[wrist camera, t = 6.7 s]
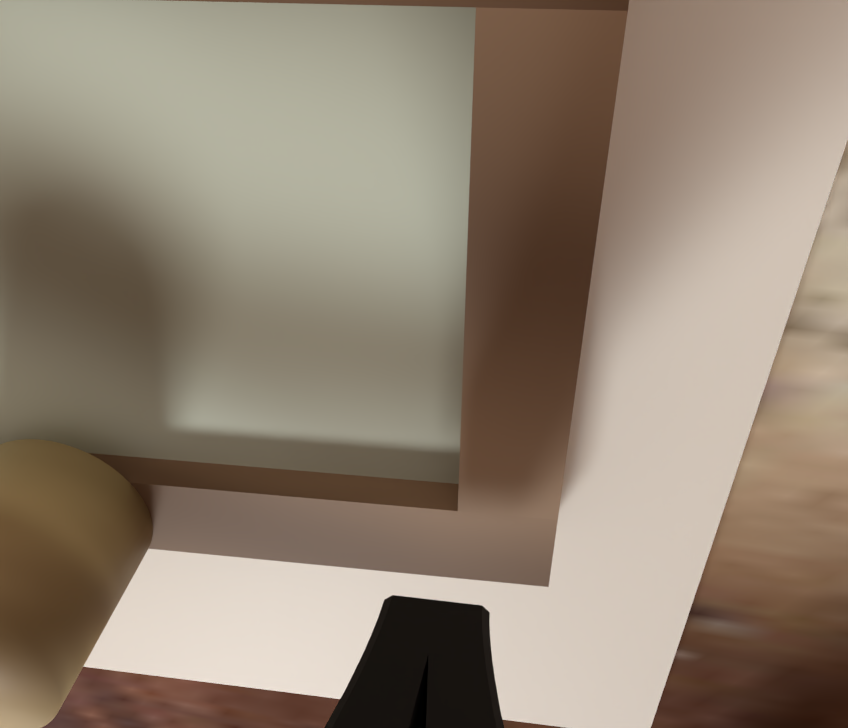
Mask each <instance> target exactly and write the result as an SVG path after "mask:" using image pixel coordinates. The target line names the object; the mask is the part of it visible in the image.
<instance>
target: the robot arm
mask: <svg viewBox="0 0 848 728" xmlns="http://www.w3.org/2000/svg"><path fill="white" fill-rule="evenodd" d="M489 618H490V612H489V611H488V610H487V609H485V608H484V607H483V606H482V605H474V604H465V603H457V602H448V601H439V600H431V599H422V598H414V597H405V596H396V595H392V596H390V597H388V598H387V599H385V600H384V602H383V605H382V608H381V611H380V614H379V617H378V619H377V622H376V624H375V627H374V629H373V632H372V634H371V637H370V639H369V641H368V644H367V646H366V648H365V650H364V652H363V655H362V657H361V659H360V661H359V663H358V665H357V667H356V669H355V671H354V673H353V675H352V677H351V679H350V681H349V683H348V685H347V687H346V689H345V691H344V693H343V695H342V697H341V699H340V701H339V702H338V704H337V706H336V708H335V710H334V712H333V713H332V715H331V717H330V719H329V721H328V722H327V724H326V726H325V728H504V725H503V720H502V716H501V711H500V705H499V700H498V694H497V688H496V682H495V676H494V669H493V662H492V653H491V642H490V624H489Z"/></svg>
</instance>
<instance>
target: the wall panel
mask: <svg viewBox="0 0 848 728" xmlns="http://www.w3.org/2000/svg"><path fill="white" fill-rule="evenodd" d="M847 140H848V0H629V6H628V13H627V21H626V28H625V35H624V43H623V50H622V57H621V64H620V72H619V79H618V86H617V93H616V101H615V108H614V115H613V122H612V130H611V137H610V144H609V151H608V159H607V166H606V173H605V181H604V188H603V195H602V202H601V210H600V217H599V224H598V231H597V239H596V246H595V253H594V260H593V268H592V275H591V282H590V289H589V297H588V304H587V311H586V318H585V326H584V333H583V340H582V348H581V355H580V362H579V369H578V377H577V384H576V391H575V398H574V406H573V413H572V420H571V427H570V435H569V442H568V449H567V456H566V464H565V471H564V478H563V486H562V493H561V500H560V507H559V515H558V522H557V529H556V536H555V544H554V551H553V558H552V565H551V573H550V580H549V587H543V586H533V585H523V584H512V583H502V582H491V581H481V580H470V579H460V578H449V577H439V576H429V575H418V574H408V573H397V572H387V571H376V570H366V569H356V568H345V567H335V566H324V565H314V564H303V563H293V562H282V561H272V560H262V559H251V558H241V557H230V556H220V555H209V554H199V553H188V552H178V551H168V550H157V549H148V550H147V552H146V554H145V556H144V558H143V559H142V561H141V563H140V565H139V567H138V569H137V570H136V572H135V574H134V576H133V578H132V579H131V581H130V583H129V585H128V587H127V588H126V590H125V592H124V594H123V596H122V597H121V599H120V601H119V603H118V605H117V606H116V608H115V610H114V612H113V614H112V615H111V617H110V619H109V621H108V623H107V625H106V626H105V628H104V630H103V632H102V634H101V635H100V637H99V639H98V641H97V643H96V644H95V646H94V648H93V650H92V652H91V653H90V655H89V657H88V659H87V661H86V662H85V664H84V666H83V667H91V668H99V669H107V670H115V671H123V672H131V673H138V674H146V675H154V676H162V677H170V678H178V679H186V680H194V681H202V682H210V683H218V684H226V685H234V686H241V687H249V688H257V689H265V690H273V691H281V692H289V693H297V694H305V695H313V696H321V697H329V698H337V699H341V697H342V695H343V693H344V691H345V689H346V687H347V685H348V683H349V681H350V679H351V677H352V675H353V673H354V671H355V669H356V667H357V665H358V663H359V661H360V659H361V657H362V655H363V652H364V650H365V648H366V646H367V644H368V641H369V639H370V637H371V634H372V632H373V629H374V627H375V624H376V622H377V619H378V617H379V614H380V611H381V608H382V605H383V602H384V600H385V599H387V598H388V597H390V596H392V595H396V596H405V597H414V598H422V599H431V600H439V601H448V602H457V603H465V604H474V605H482V606H483V607H484V608H485V609H487V610H488V611H489V612H490V618H489V624H490V642H491V653H492V662H493V669H494V676H495V682H496V688H497V694H498V700H499V705H500V711H501V716H502V719H503V720H511V721H519V722H527V723H535V724H543V725H551V726H559V727H566V728H651V725H652V722H653V719H654V716H655V713H656V710H657V707H658V704H659V701H660V698H661V695H662V692H663V689H664V686H665V683H666V680H667V677H668V674H669V671H670V668H671V665H672V662H673V659H674V656H675V653H676V650H677V648H678V645H679V642H680V639H681V636H682V633H683V630H684V627H685V624H686V621H687V618H688V615H689V612H690V609H691V606H692V603H693V600H694V597H695V594H696V591H697V588H698V585H699V582H700V579H701V576H702V573H703V570H704V567H705V564H706V561H707V558H708V555H709V552H710V549H711V546H712V543H713V540H714V537H715V534H716V531H717V528H718V525H719V522H720V519H721V516H722V513H723V510H724V507H725V504H726V501H727V498H728V495H729V492H730V489H731V486H732V483H733V480H734V477H735V474H736V471H737V468H738V465H739V462H740V460H741V457H742V454H743V451H744V448H745V445H746V442H747V439H748V436H749V433H750V430H751V427H752V424H753V421H754V418H755V415H756V412H757V409H758V406H759V403H760V400H761V397H762V394H763V391H764V388H765V385H766V382H767V379H768V376H769V373H770V370H771V367H772V364H773V361H774V358H775V355H776V352H777V349H778V346H779V343H780V340H781V337H782V334H783V331H784V328H785V325H786V322H787V319H788V316H789V313H790V310H791V307H792V304H793V301H794V298H795V295H796V292H797V289H798V286H799V283H800V280H801V277H802V275H803V272H804V269H805V266H806V263H807V260H808V257H809V254H810V251H811V248H812V245H813V242H814V239H815V236H816V233H817V230H818V227H819V224H820V221H821V218H822V215H823V212H824V209H825V206H826V203H827V200H828V197H829V194H830V191H831V188H832V185H833V182H834V179H835V176H836V173H837V170H838V167H839V164H840V161H841V158H842V155H843V152H844V149H845V146H846V143H847Z"/></svg>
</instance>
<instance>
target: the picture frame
mask: <svg viewBox="0 0 848 728" xmlns="http://www.w3.org/2000/svg"><path fill="white" fill-rule="evenodd" d="M628 6H629V0H0V728H41V727H43V726H45V725H47V724H48V723H49V722H50V721H52V720H53V719H54V717H55V716H56V715H57V713H58V711H59V709H60V708H61V706H62V704H63V702H64V700H65V699H66V697H67V695H68V693H69V691H70V690H71V688H72V686H73V684H74V682H75V681H76V679H77V677H78V675H79V673H80V671H81V670H82V668H83V666H84V664H85V662H86V661H87V659H88V657H89V655H90V653H91V652H92V650H93V648H94V646H95V644H96V643H97V641H98V639H99V637H100V635H101V634H102V632H103V630H104V628H105V626H106V625H107V623H108V621H109V619H110V617H111V615H112V614H113V612H114V610H115V608H116V606H117V605H118V603H119V601H120V599H121V597H122V596H123V594H124V592H125V590H126V588H127V587H128V585H129V583H130V581H131V579H132V578H133V576H134V574H135V572H136V570H137V569H138V567H139V565H140V563H141V561H142V559H143V558H144V556H145V554H146V552H147V550H148V549H157V550H168V551H178V552H188V553H199V554H209V555H220V556H230V557H241V558H251V559H262V560H272V561H282V562H293V563H303V564H314V565H324V566H335V567H345V568H356V569H366V570H376V571H387V572H397V573H408V574H418V575H429V576H439V577H449V578H460V579H470V580H481V581H491V582H502V583H512V584H523V585H533V586H543V587H549V580H550V573H551V565H552V558H553V551H554V544H555V536H556V529H557V522H558V515H559V507H560V500H561V493H562V486H563V478H564V471H565V464H566V456H567V449H568V442H569V435H570V427H571V420H572V413H573V406H574V398H575V391H576V384H577V377H578V369H579V362H580V355H581V348H582V340H583V333H584V326H585V318H586V311H587V304H588V297H589V289H590V282H591V275H592V268H593V260H594V253H595V246H596V239H597V231H598V224H599V217H600V210H601V202H602V195H603V188H604V181H605V173H606V166H607V159H608V151H609V144H610V137H611V130H612V122H613V115H614V108H615V101H616V93H617V86H618V79H619V72H620V64H621V57H622V50H623V43H624V35H625V28H626V21H627V13H628Z"/></svg>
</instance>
